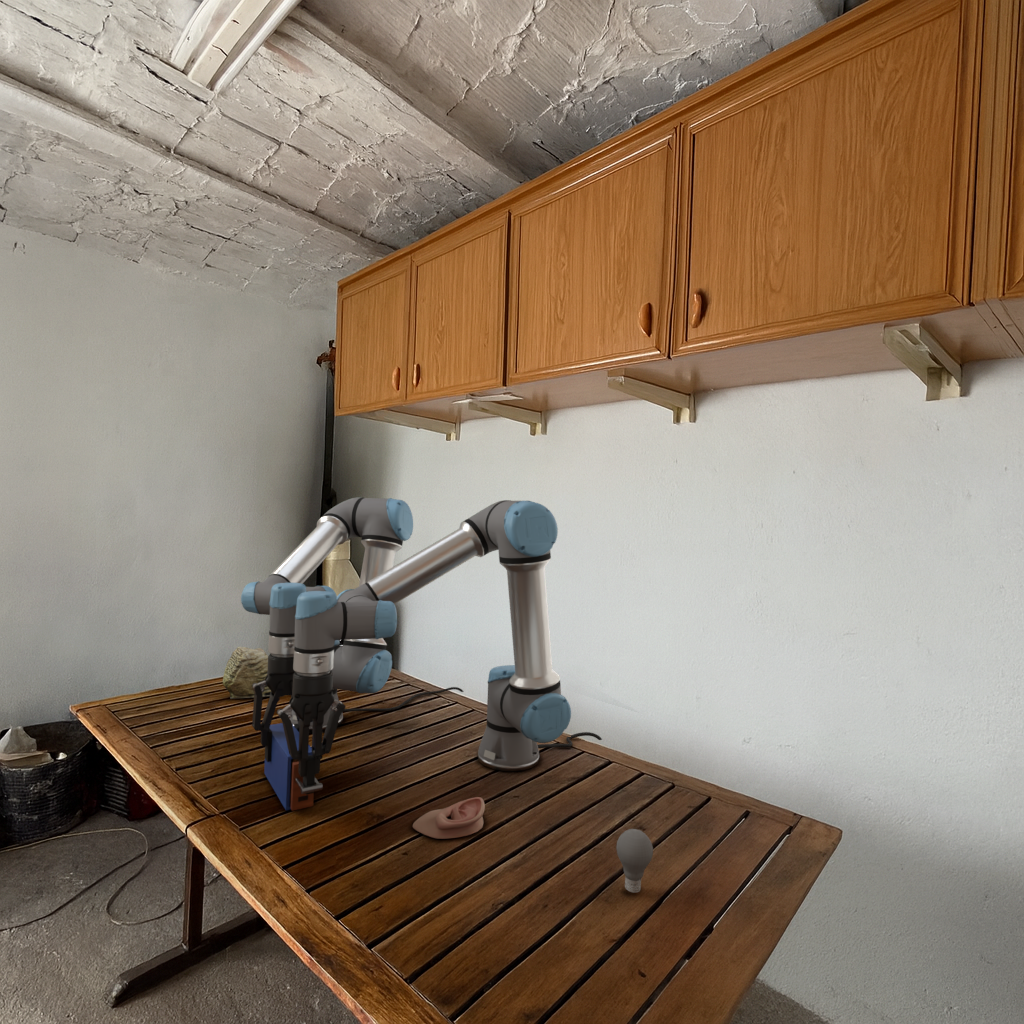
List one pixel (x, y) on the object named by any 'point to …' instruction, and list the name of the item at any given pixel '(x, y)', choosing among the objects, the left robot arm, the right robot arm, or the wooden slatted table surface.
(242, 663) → the fossil
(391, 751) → the wooden slatted table surface
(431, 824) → the anatomical model
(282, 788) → the cabinet
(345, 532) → the left robot arm
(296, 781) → the drawer
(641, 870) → the light bulb
